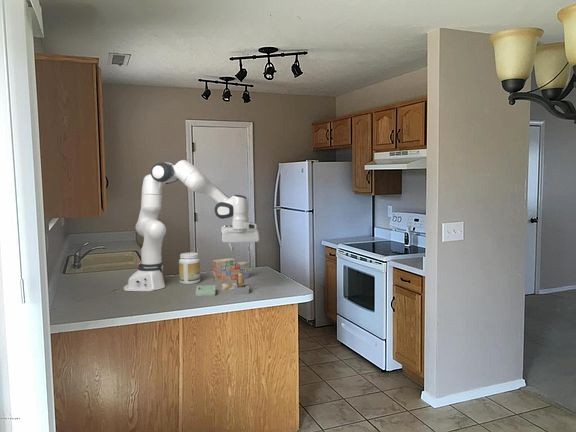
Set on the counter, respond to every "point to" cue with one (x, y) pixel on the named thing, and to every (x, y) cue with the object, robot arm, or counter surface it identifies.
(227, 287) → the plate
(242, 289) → the collar
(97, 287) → the counter surface
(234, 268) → the stack of blocks
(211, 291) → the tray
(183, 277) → the supplement tub
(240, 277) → the dowel
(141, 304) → the counter surface
